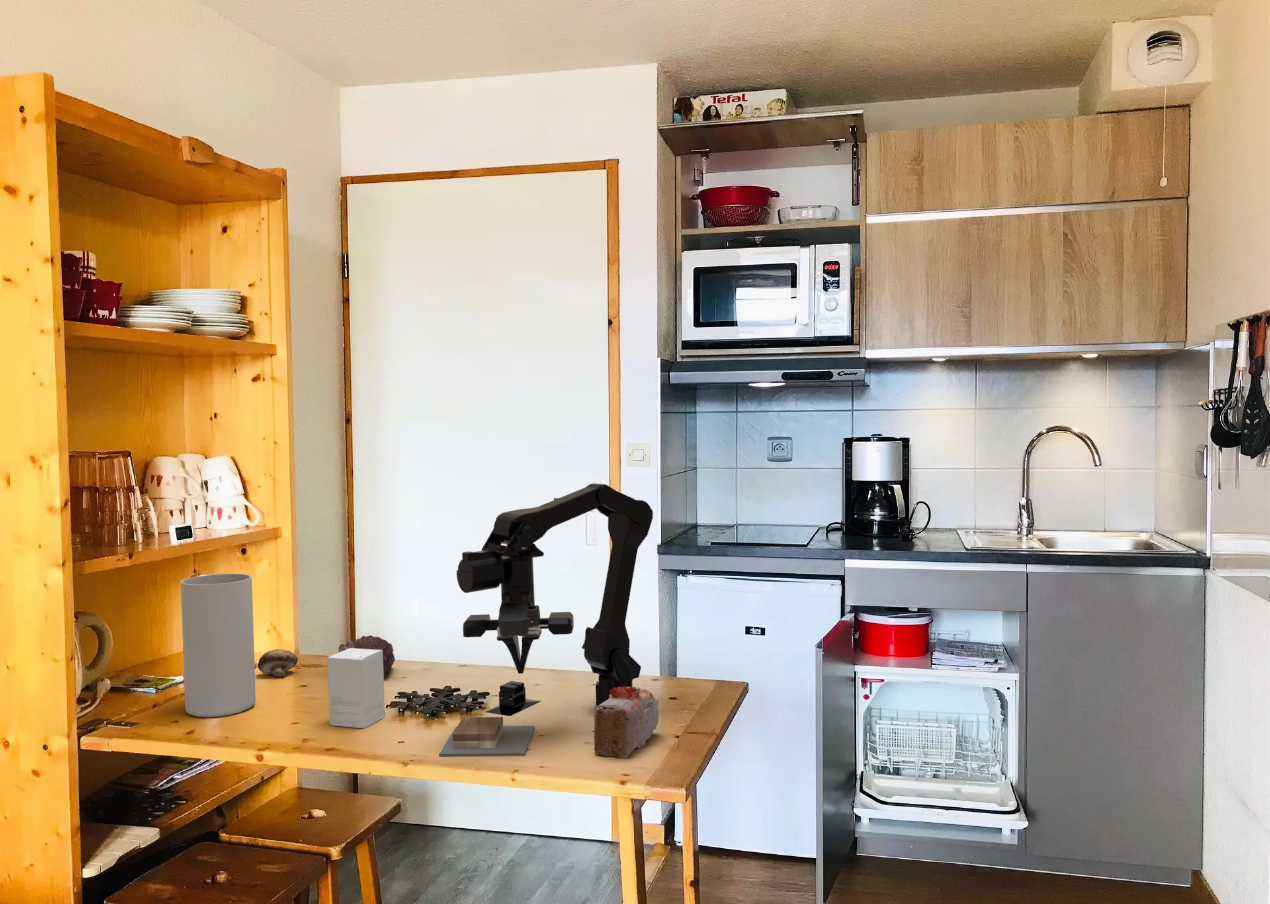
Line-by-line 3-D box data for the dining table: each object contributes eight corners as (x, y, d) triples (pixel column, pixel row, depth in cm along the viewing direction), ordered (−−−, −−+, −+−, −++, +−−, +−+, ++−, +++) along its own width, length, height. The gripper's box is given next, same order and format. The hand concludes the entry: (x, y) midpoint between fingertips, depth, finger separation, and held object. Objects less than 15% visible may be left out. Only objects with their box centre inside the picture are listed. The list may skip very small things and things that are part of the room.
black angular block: (508, 722, 181) (508, 695, 181) (474, 716, 184) (473, 690, 184) (548, 702, 192) (547, 677, 192) (515, 697, 196) (514, 673, 196)
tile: (503, 716, 173) (463, 717, 173) (494, 733, 164) (452, 734, 164) (503, 730, 173) (463, 730, 173) (494, 747, 164) (452, 748, 164)
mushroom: (287, 666, 209) (282, 639, 212) (253, 681, 209) (248, 654, 212) (306, 675, 216) (301, 649, 219) (273, 689, 216) (269, 663, 219)
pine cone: (367, 665, 221) (391, 628, 221) (396, 692, 216) (421, 653, 216) (315, 663, 205) (341, 622, 204) (346, 692, 200) (372, 650, 200)
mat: (534, 727, 175) (534, 725, 175) (524, 755, 161) (524, 752, 161) (455, 728, 176) (455, 726, 176) (439, 756, 162) (439, 753, 162)
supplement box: (386, 717, 183) (384, 649, 183) (363, 729, 176) (361, 659, 176) (352, 713, 186) (350, 646, 185) (327, 725, 179) (325, 656, 178)
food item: (618, 729, 174) (617, 674, 173) (662, 734, 171) (661, 677, 171) (589, 756, 161) (588, 695, 160) (636, 760, 158) (634, 699, 158)
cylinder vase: (261, 711, 188) (257, 580, 187) (189, 722, 182) (185, 587, 181) (249, 695, 199) (245, 571, 198) (181, 705, 192) (176, 577, 191)
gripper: (455, 595, 164) (459, 688, 165) (567, 591, 164) (570, 684, 165) (467, 582, 175) (470, 669, 176) (572, 579, 175) (575, 666, 176)
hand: (520, 673), depth 173 cm, fingers closed
